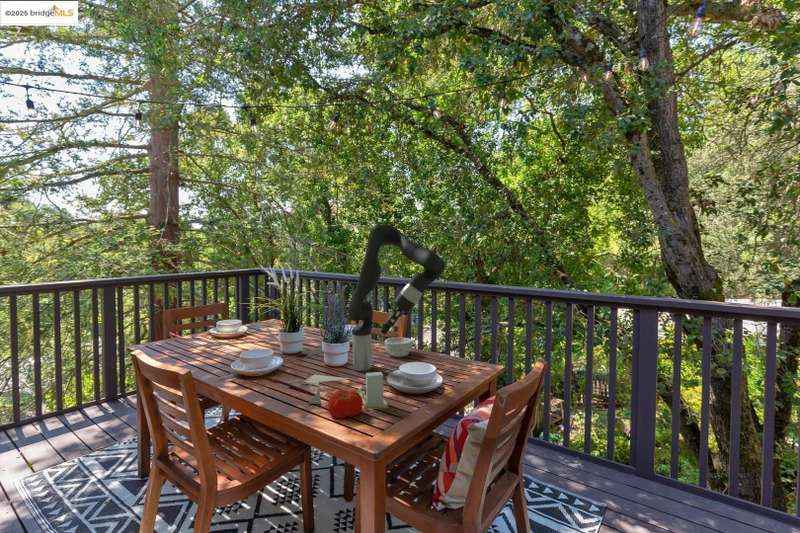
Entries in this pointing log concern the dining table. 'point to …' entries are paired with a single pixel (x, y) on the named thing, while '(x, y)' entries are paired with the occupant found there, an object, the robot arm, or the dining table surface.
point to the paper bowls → (398, 346)
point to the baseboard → (321, 379)
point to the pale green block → (374, 389)
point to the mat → (316, 399)
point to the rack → (366, 404)
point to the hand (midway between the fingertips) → (383, 331)
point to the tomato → (345, 404)
